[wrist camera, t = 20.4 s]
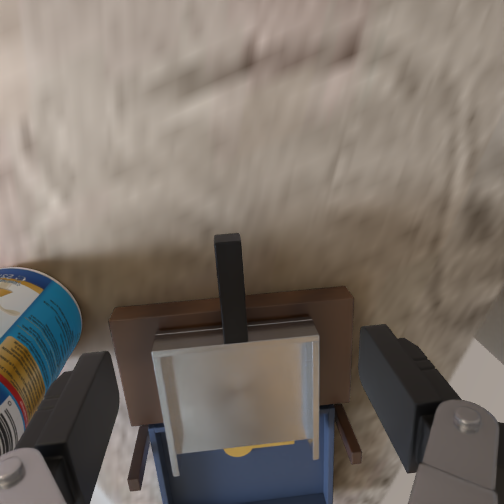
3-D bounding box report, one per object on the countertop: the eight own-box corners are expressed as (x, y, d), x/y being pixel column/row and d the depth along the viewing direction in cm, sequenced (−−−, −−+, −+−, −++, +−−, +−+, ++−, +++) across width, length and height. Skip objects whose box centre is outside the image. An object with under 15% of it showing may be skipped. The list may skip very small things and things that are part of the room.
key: (223, 454, 35) (224, 458, 35) (221, 432, 34) (221, 435, 34) (293, 447, 35) (294, 451, 35) (293, 424, 34) (294, 428, 34)
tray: (328, 392, 34) (335, 408, 32) (327, 491, 38) (332, 510, 37) (151, 411, 33) (147, 429, 31) (170, 511, 37) (168, 531, 36)
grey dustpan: (310, 222, 26) (319, 234, 24) (311, 433, 32) (319, 459, 30) (140, 236, 25) (132, 249, 23) (176, 449, 32) (173, 477, 29)
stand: (345, 285, 30) (369, 320, 26) (341, 414, 35) (361, 463, 30) (114, 307, 29) (95, 347, 25) (141, 436, 34) (129, 491, 29)
